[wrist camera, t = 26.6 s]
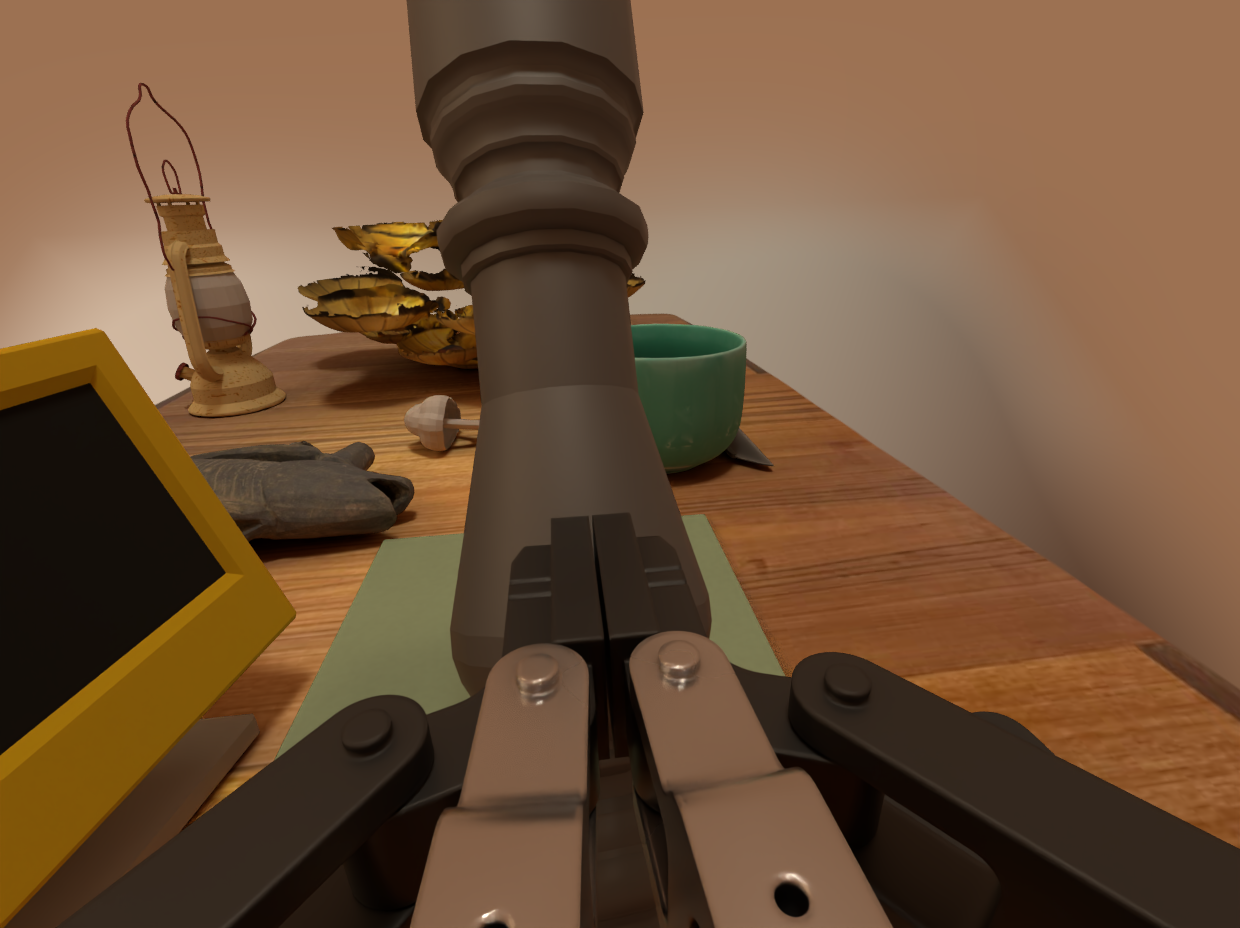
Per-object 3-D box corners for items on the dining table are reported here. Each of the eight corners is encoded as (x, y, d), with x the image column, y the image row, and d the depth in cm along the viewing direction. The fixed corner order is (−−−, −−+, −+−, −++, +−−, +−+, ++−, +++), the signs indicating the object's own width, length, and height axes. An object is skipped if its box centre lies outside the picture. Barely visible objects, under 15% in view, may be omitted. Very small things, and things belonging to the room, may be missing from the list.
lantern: (213, 392, 71) (120, 95, 59) (302, 385, 72) (228, 93, 60) (157, 426, 60) (30, 70, 48) (263, 418, 61) (164, 68, 49)
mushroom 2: (548, 403, 49) (395, 393, 48) (545, 460, 50) (394, 452, 48) (548, 399, 56) (414, 390, 54) (545, 449, 57) (412, 441, 55)
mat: (704, 519, 39) (704, 513, 39) (862, 841, 19) (864, 833, 19) (384, 545, 37) (383, 539, 37) (198, 927, 18) (194, 918, 17)
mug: (718, 425, 55) (722, 319, 51) (762, 483, 43) (770, 352, 40) (535, 437, 54) (524, 329, 50) (529, 501, 42) (515, 367, 38)
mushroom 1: (288, 443, 54) (232, 237, 47) (325, 346, 93) (297, 225, 86) (698, 385, 67) (701, 215, 60) (580, 321, 106) (573, 213, 99)
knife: (692, 413, 58) (692, 407, 57) (732, 410, 58) (733, 403, 58) (737, 473, 45) (738, 464, 44) (789, 468, 45) (790, 460, 45)
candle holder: (723, 1248, 10) (567, -172, 12) (422, 1128, 12) (336, -26, 14) (785, 966, 15) (673, 41, 17) (571, 923, 18) (494, 120, 20)
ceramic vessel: (370, 483, 33) (444, 422, 47) (-93, 490, 33) (123, 427, 47) (382, 567, 34) (450, 483, 49) (-61, 574, 34) (139, 488, 49)
